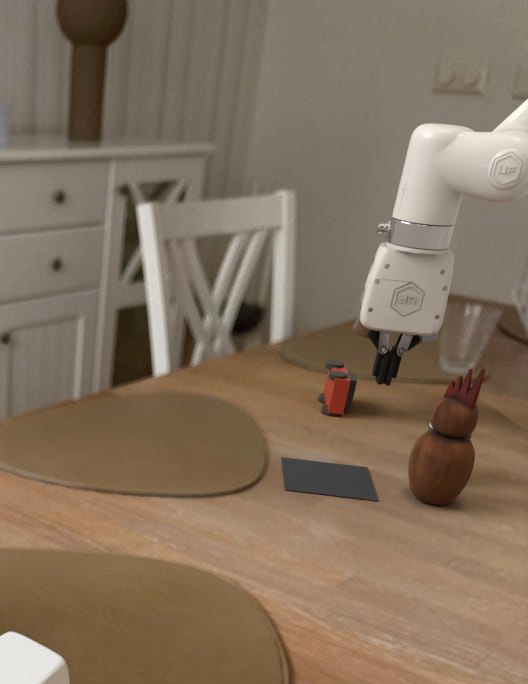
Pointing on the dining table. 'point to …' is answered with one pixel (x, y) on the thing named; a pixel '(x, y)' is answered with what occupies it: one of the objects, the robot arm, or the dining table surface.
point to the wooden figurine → (446, 444)
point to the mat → (328, 479)
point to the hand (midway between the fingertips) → (382, 381)
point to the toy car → (337, 389)
